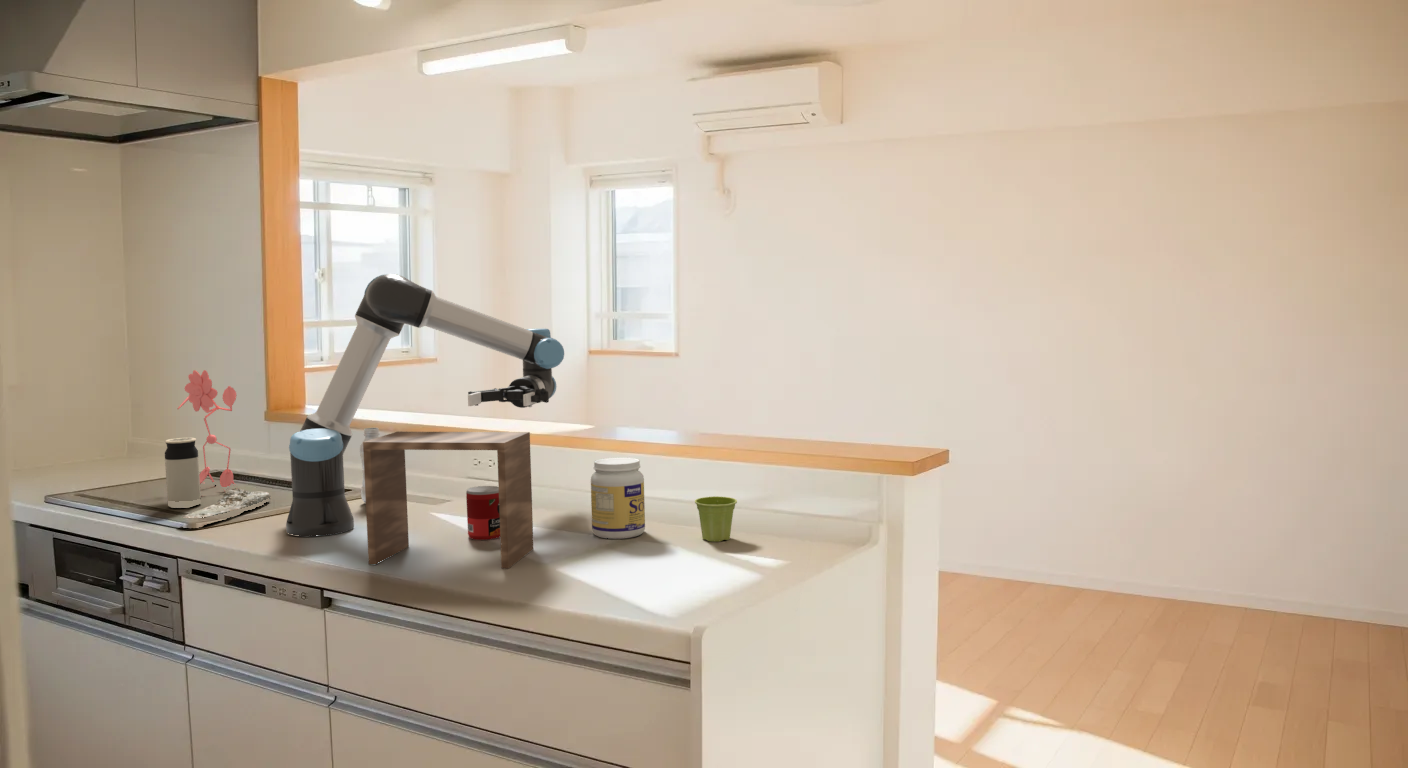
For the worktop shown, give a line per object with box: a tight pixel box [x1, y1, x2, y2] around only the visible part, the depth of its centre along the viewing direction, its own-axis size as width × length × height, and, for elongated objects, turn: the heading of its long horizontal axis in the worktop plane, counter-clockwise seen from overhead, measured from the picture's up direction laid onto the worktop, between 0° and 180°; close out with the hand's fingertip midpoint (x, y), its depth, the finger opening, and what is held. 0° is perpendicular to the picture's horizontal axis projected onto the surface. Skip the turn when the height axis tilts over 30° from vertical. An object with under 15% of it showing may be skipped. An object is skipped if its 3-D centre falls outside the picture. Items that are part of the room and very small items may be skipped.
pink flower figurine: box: [177, 369, 237, 488], centre depth 308 cm, size 15×26×35 cm, turn 61°
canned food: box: [465, 485, 500, 541], centre depth 246 cm, size 8×8×11 cm
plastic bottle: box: [359, 427, 380, 504], centre depth 287 cm, size 6×7×20 cm
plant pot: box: [694, 495, 738, 543], centre depth 239 cm, size 9×9×9 cm
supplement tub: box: [590, 457, 646, 540], centre depth 246 cm, size 12×12×17 cm
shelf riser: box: [362, 431, 534, 569], centre depth 226 cm, size 30×16×26 cm, turn 81°
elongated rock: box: [181, 488, 272, 518], centre depth 276 cm, size 35×5×10 cm
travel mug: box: [164, 437, 202, 502], centre depth 287 cm, size 8×8×18 cm
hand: (497, 400), depth 254 cm, fingers open, 13 cm apart
